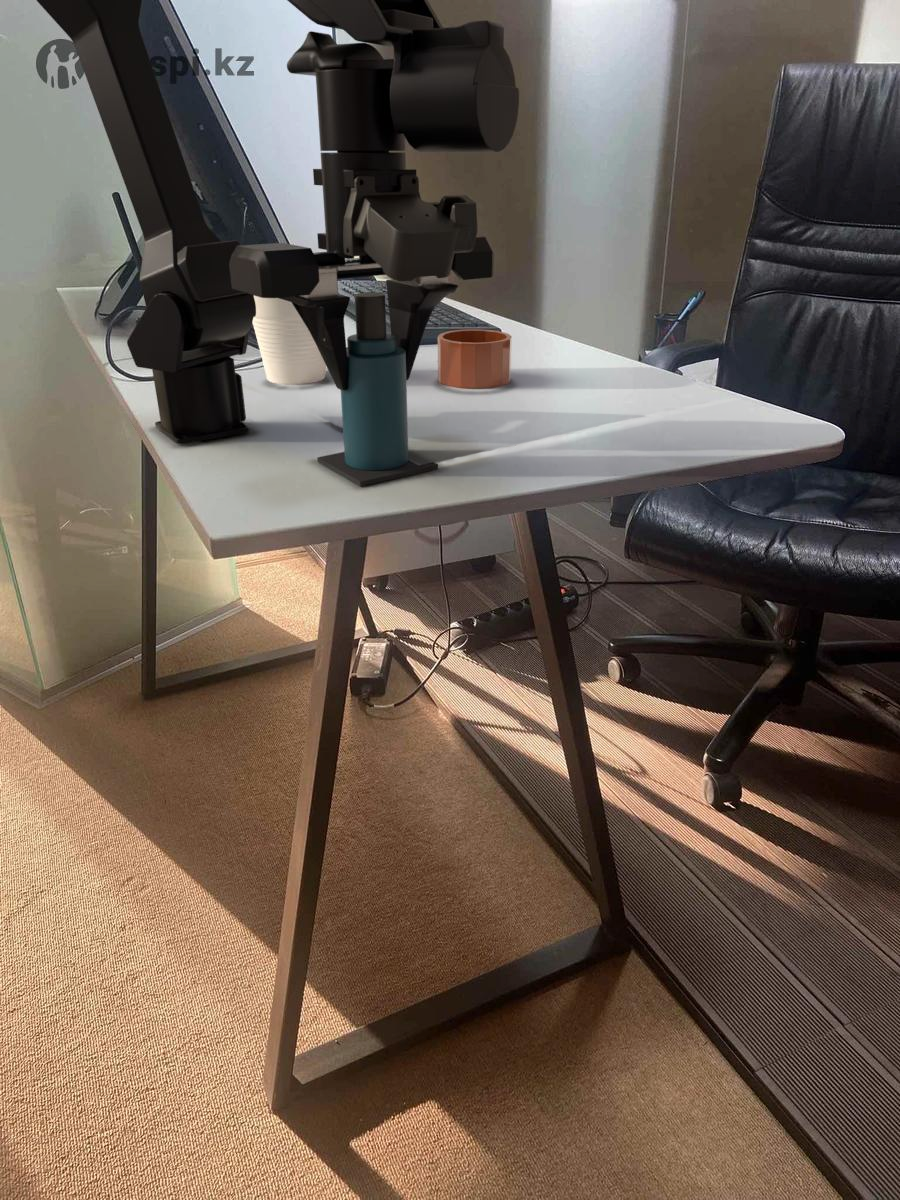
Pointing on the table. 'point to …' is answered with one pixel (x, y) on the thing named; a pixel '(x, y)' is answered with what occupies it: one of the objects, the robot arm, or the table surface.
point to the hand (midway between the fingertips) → (373, 384)
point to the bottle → (374, 391)
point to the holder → (474, 359)
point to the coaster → (371, 477)
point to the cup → (286, 343)
